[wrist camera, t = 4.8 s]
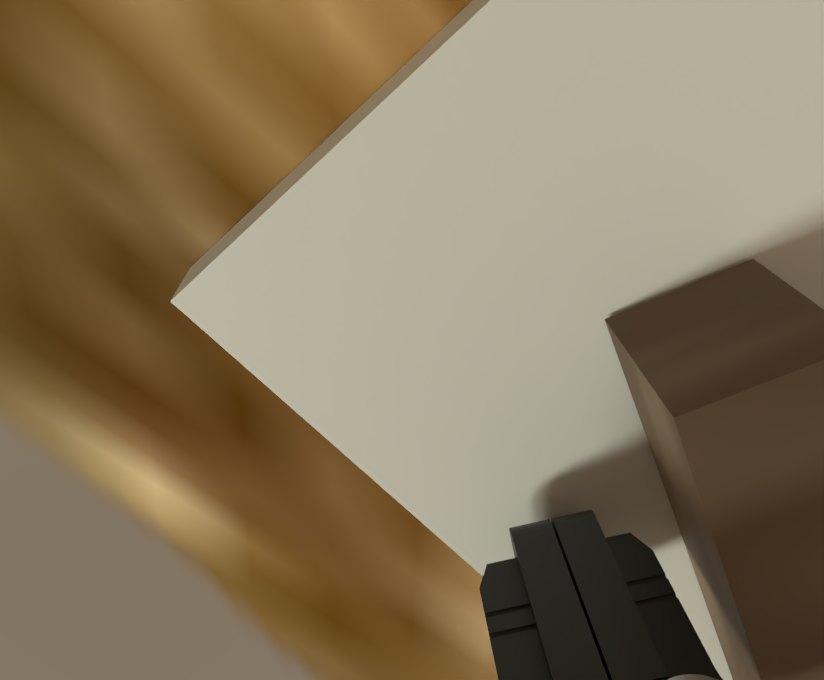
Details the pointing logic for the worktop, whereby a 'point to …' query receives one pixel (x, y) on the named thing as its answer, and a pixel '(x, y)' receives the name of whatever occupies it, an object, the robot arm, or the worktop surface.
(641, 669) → the robot arm
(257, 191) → the worktop surface
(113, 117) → the worktop surface
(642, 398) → the folding leg
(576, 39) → the stool seat
